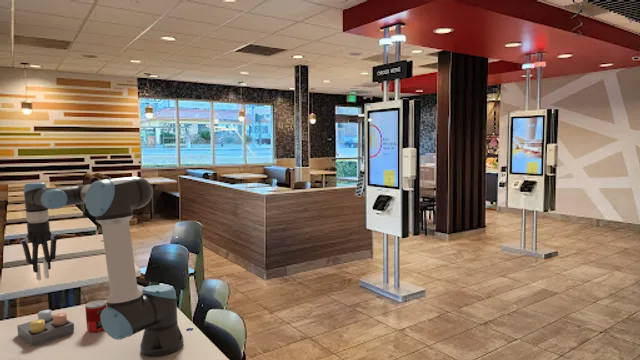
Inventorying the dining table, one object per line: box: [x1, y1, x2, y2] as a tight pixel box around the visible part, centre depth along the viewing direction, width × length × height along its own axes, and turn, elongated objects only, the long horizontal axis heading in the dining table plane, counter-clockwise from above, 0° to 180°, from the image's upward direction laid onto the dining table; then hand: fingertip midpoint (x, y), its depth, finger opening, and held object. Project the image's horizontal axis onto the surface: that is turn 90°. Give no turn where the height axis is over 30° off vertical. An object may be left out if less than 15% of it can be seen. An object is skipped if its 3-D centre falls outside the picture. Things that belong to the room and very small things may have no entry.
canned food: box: [85, 299, 107, 334], centre depth 182 cm, size 8×8×11 cm
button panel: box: [16, 313, 75, 347], centre depth 179 cm, size 16×15×4 cm
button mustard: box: [30, 319, 45, 333], centre depth 173 cm, size 5×5×4 cm
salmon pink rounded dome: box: [53, 312, 68, 326], centre depth 179 cm, size 5×5×4 cm
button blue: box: [37, 309, 52, 322], centre depth 183 cm, size 5×5×4 cm
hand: (42, 278), depth 179 cm, fingers open, 2 cm apart
